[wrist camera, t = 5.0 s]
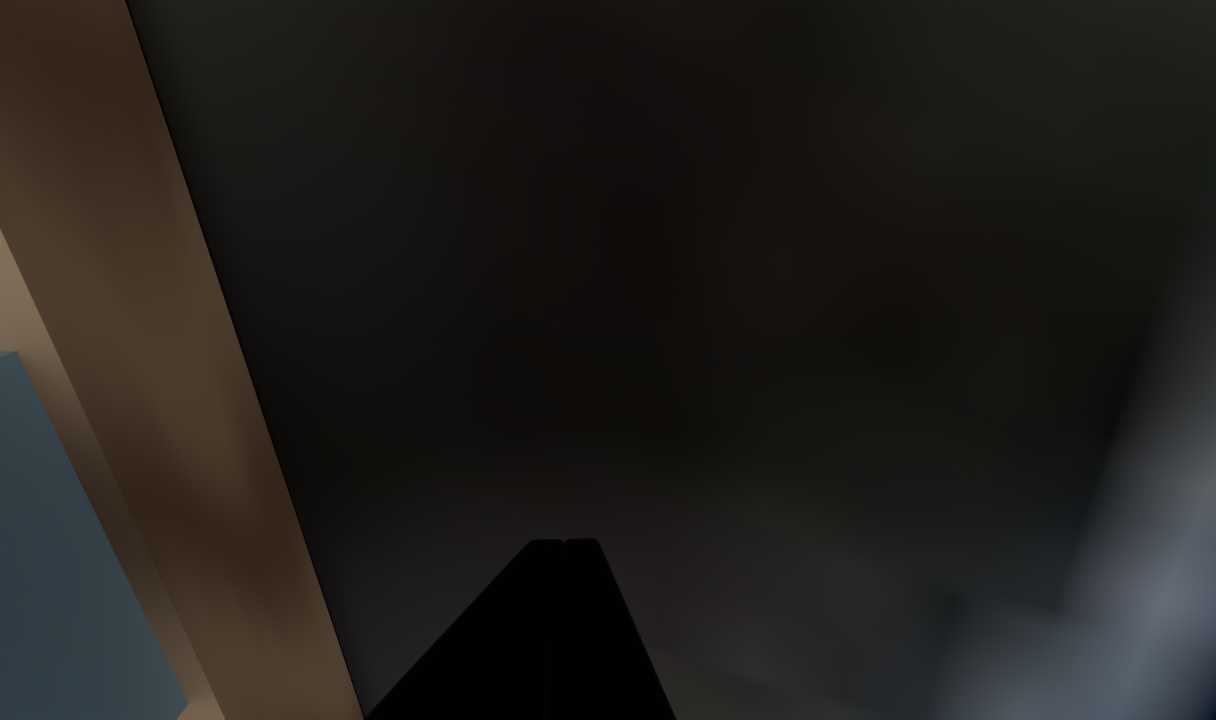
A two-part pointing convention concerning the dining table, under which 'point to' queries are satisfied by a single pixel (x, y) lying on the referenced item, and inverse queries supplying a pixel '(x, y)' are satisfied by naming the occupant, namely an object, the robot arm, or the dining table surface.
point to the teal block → (65, 586)
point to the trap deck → (151, 370)
